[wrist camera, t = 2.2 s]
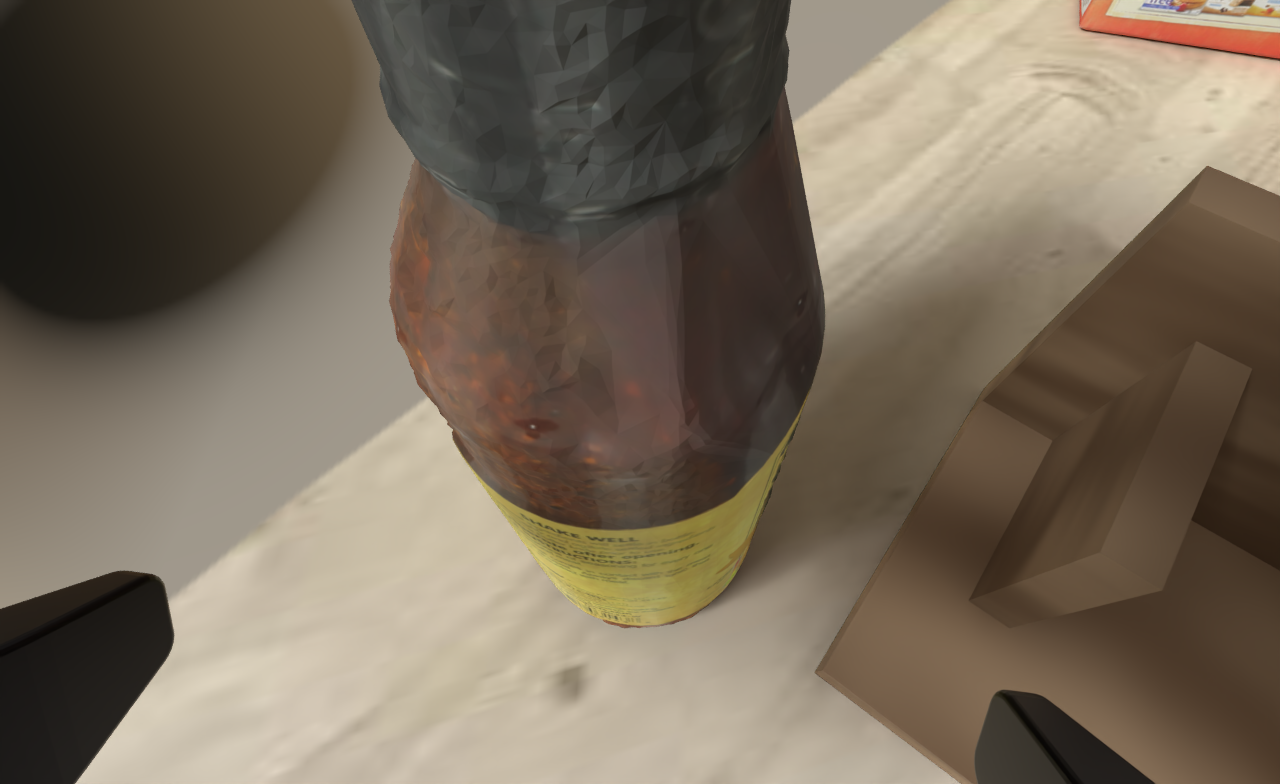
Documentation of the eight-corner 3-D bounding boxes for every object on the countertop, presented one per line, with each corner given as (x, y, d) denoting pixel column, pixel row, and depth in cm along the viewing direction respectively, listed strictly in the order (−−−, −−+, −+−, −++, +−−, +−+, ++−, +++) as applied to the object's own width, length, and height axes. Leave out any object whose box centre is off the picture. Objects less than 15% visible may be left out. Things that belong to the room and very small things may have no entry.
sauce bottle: (778, 585, 19) (2110, -833, 2) (580, 670, 18) (-1253, -460, 1) (689, 401, 22) (825, -871, 4) (513, 468, 21) (-213, -803, 3)
